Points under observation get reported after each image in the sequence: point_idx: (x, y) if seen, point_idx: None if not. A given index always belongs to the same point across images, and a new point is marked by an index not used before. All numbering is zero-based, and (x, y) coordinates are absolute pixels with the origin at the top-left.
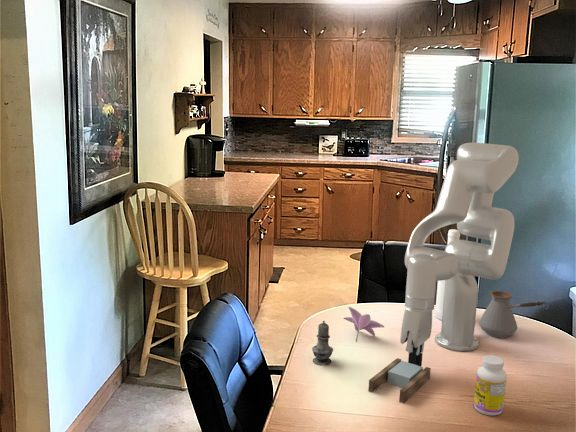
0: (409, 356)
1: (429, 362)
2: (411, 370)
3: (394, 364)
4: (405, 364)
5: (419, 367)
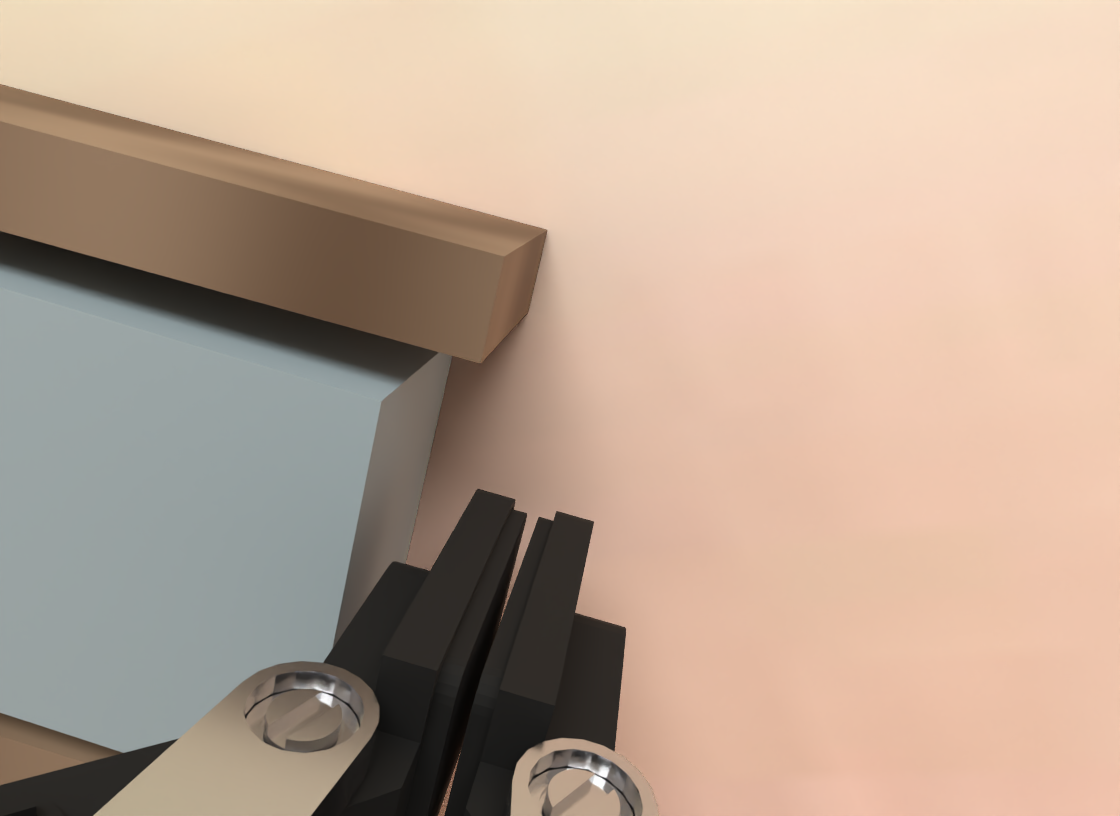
0: (418, 605)
1: (1031, 738)
2: (48, 636)
3: (132, 264)
4: (229, 500)
5: None
